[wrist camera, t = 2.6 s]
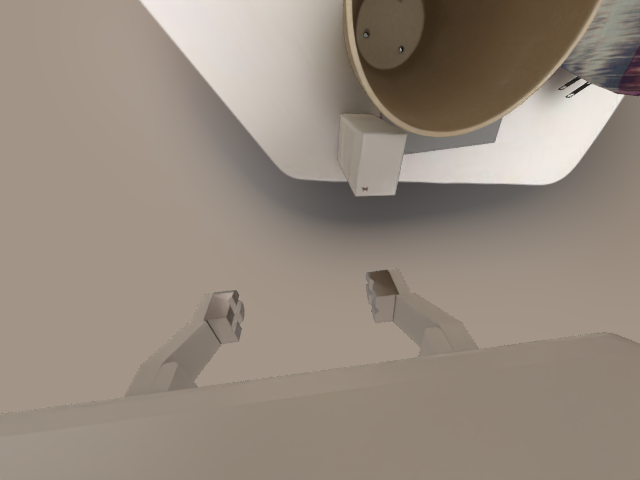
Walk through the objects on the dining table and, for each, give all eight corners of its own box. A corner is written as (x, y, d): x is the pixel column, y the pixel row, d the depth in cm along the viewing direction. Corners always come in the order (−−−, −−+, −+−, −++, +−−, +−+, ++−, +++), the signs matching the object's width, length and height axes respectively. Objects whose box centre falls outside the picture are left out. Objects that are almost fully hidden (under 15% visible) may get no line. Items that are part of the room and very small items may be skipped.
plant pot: (351, 130, 31) (391, 173, 19) (294, -17, 23) (292, -124, 10) (467, 67, 28) (611, 66, 16) (448, -127, 20) (715, -470, 7)
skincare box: (367, 160, 34) (395, 197, 24) (336, 160, 34) (353, 198, 24) (373, 111, 30) (409, 132, 21) (339, 111, 30) (360, 132, 20)
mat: (507, 91, 30) (509, 92, 30) (492, 141, 34) (494, 142, 33) (381, 108, 30) (382, 109, 30) (379, 156, 34) (380, 157, 33)
